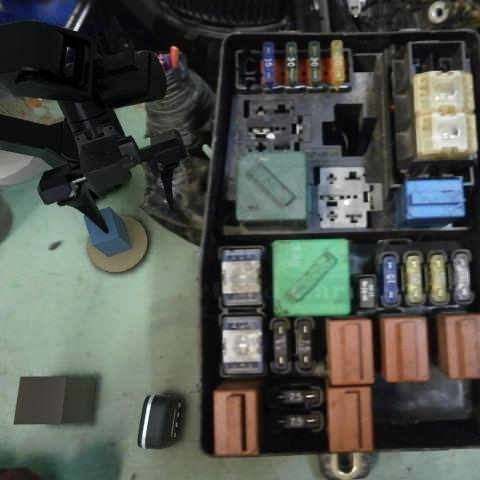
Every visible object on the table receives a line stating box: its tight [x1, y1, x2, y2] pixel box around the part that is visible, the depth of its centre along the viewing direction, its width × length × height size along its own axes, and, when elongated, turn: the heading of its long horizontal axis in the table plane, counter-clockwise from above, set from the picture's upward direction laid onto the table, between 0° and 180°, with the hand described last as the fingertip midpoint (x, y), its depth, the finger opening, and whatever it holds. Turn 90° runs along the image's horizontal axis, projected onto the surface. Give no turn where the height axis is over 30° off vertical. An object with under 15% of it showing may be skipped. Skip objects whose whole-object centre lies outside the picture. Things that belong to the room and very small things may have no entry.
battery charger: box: [136, 393, 184, 450], centre depth 75 cm, size 7×4×11 cm, turn 175°
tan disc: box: [86, 215, 149, 273], centre depth 87 cm, size 9×9×1 cm
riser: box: [13, 375, 97, 426], centre depth 75 cm, size 6×6×11 cm
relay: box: [83, 206, 132, 257], centre depth 83 cm, size 4×5×7 cm
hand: (140, 221), depth 75 cm, fingers open, 9 cm apart
